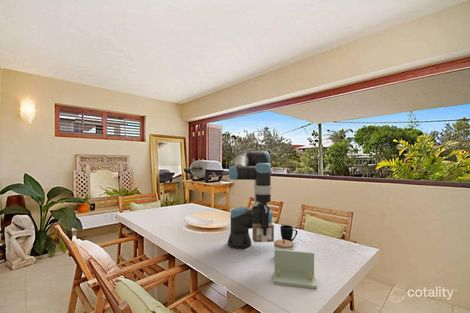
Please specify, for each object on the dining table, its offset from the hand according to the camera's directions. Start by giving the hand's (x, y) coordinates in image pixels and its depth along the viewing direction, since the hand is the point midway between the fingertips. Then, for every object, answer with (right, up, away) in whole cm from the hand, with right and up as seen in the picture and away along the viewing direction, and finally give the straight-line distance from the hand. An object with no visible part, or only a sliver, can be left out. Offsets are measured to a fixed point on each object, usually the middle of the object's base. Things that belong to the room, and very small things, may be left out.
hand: (263, 239), depth 115 cm
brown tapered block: (0, 0, 0) cm, 0 cm away
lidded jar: (+13, -14, +13) cm, 23 cm away
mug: (+22, -15, +37) cm, 45 cm away
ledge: (+13, -14, -12) cm, 22 cm away
